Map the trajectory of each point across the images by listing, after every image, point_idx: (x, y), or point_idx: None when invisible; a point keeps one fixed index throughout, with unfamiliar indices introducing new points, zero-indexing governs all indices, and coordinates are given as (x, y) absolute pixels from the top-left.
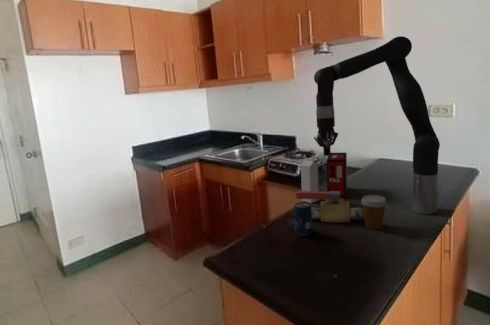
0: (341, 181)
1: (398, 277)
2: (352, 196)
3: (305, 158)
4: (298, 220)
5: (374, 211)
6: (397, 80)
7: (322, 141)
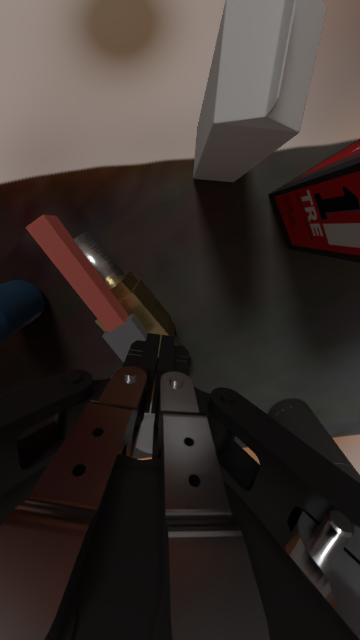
0: (317, 241)
1: None
2: (314, 256)
3: None
4: None
5: None
6: None
7: (7, 489)
